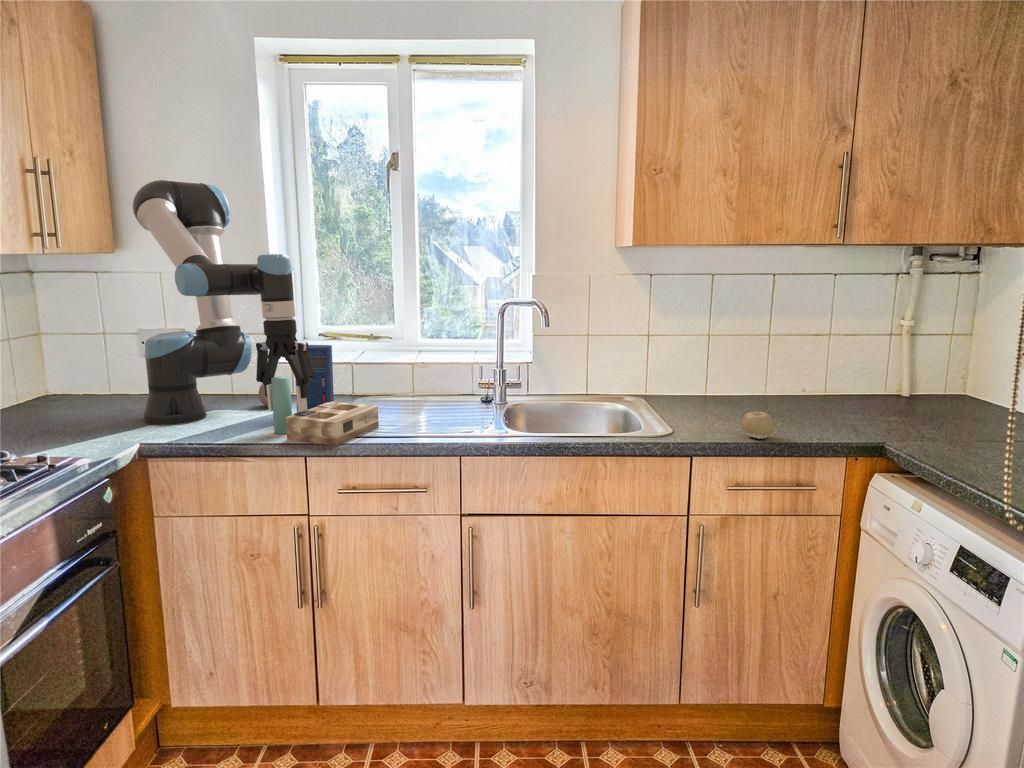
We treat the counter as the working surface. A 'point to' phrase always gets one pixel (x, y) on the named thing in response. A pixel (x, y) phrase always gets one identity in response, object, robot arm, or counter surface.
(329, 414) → the socket block
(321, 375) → the electronic device
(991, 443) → the counter surface
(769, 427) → the fruit
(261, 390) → the egg
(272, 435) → the mat
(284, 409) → the pale green cylinder
